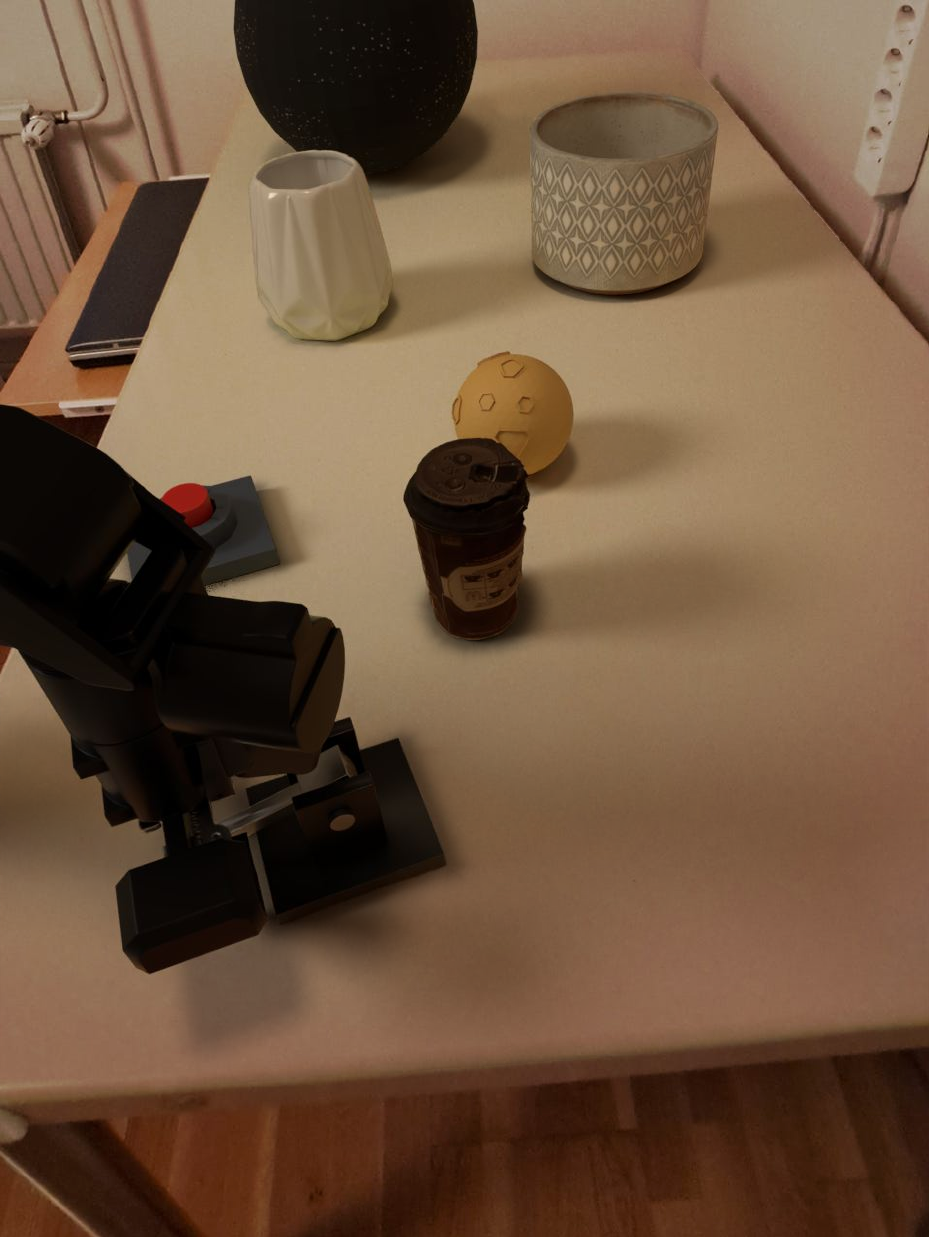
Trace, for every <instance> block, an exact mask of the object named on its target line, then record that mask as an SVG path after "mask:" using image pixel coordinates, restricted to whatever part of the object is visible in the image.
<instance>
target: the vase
mask: <svg viewBox="0 0 929 1237" xmlns="http://www.w3.org/2000/svg"><path fill="white" fill-rule="evenodd" d="M248 185H249V186H248V200H249V217H250V230H251V245H252V257H253V258H252V259H253V270H254V278H255V287H256V292H257V300H258V301H259V303H260V304H261V306H262V307H263V309H264V310H265V311H266V312H267V314H268V315H270V317H271V320H272V321H273V322H274V323H275V324H276V325H277V326H278V327H280V328H281V329H283V330H285V331H287V332H288V333H289V335H291V336H292V337H294V338H296V339H299V340H311V341H328V342H329V341H330V342H331V341H332V342H333V341H335V342H336V341H339V340H342V339H346V338H348V337H351V336H353V335H355V334H359V333H361V332H363V331H365V330H368V329H371V328H372V327H373V326H374V325H375V324H376V323H377V321H378V318H379V316H380V315H381V314H382V313H383V312H384V311H385V310H386V309H387V307H388V306H389V299H390V293H391V290H392V288H393V287H392V286H393V282H394V279H393V278H394V277H393V269H392V264H391V260H390V256H389V252H388V249H387V244H386V241H385V238H384V233H383V230H382V227H381V223H380V220H379V216H378V213H377V209H376V206H375V203H374V200H373V196H372V193H371V190H370V186H369V182H368V180H367V177H366V174H364V171H363V169H362V167H361V166H360V164H359V163H358V162H357V161H356V160H355V159H354V158H352V157H349V156H348V155H347V154H344V153H340V152H337V151H329V150H322V151H318V150H309V151H302V152H297V151H295V152H288V153H286V154H284V155H279V156H276V157H274V158H271V159H269V160H266V161H265V162H264V163H263V164H261V165H260V166H258V167H257V170H255V171H254V173H253V174H252V176H251V178H250V180H249V184H248Z"/></svg>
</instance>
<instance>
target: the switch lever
mask: <svg viewBox="0 0 929 1237" xmlns="http://www.w3.org/2000/svg"><path fill="white" fill-rule="evenodd" d="M356 775H358V774H357V771H356V768H355V765H354V763H353V762H352V761H351V760H350V758H349V757H348V756H347V755H346V754H345V753H344V751H343V750H342V749H341V748H340V747H339V745H335V746H333V747H331V748H330V749H328V750H326V751H324V752H322V753H320V757H319V761H318V765H317V767H316V768H315V769H314V770H313V771H312V772H310V773H307V774H302V775H296V776H297V779H298V782H297V783H295V784H294V785H292V786H290V787H288V788H286V789H284V790H282V791H280V792H278V793H276V794H274V795H272V796H270V797H268V798H266V799H264V800H262V801H261V802H259V803H257V804H255V805H253V806H251V807H250V806H248V807H247V808H245V809H243V810H241V811H239V812H237V813H235V814H233V815H232V816H230V817H228V818H225V819H224V820H222V821H220V822H218V823H217V824H222V825H225V826H226V827H227V828H228V829H229V831H230V833H231V835H232V837H233V836H236V835H238V834H241V833H244V832H247V836H248V837H249V836H251V835H253V834H256V832H257V831H259V830H261V829H263V828H265V827H267V826H269V825H271V824H272V823H274V822H276V821H278V820H280V819H282V818H284V817H286V816H288V815H290V814H292V813H294V812H295V809H294V806H293V802H292V797H294V796H297V795H299V794H302V793H305V792H308V791H311V790H314V789H317V788H320V787H323V786H326V785H329V784H332V783H335V782H338V781H341V780H344V779H347V778H350V777H353V776H356ZM190 811H191V810H190ZM190 811H189V812H187V814H188V819H189V825H190V830H191V836H195V834H194V832H193V831H194V830H196V829H194V828H193V826H192V824H194V823H193V822H192V820H191V818H192V817H193V816H191V814H190Z"/></svg>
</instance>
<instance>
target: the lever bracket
mask: <svg viewBox="0 0 929 1237" xmlns="http://www.w3.org/2000/svg"><path fill="white" fill-rule="evenodd" d="M335 745H339V747H340V748H341V749H342V750H343V751H344V753H345V754H346V755H347V756H348V757H349V758H350V760H351V761H352V762H353V763H354V765H355V768H356V771H357V774H358V775H356V776H353V777H350V778H347V779H344V780H341V781H338V782H335V783H332V784H329V785H326V786H323V787H320V788H317V789H314V790H311V791H308V792H305V793H302V794H299V795H297V796H294V797H292V802H293V806H294V809H295V812H294V813H292V814H290V815H288V816H286V817H284V818H282V819H280V820H278V821H276V822H274V823H272V824H271V825H269V826H267V827H265V828H263V829H261V830H259V831H257V832H255V835H256V839H257V843H258V848H259V851H260V855H261V856H260V857H261V861H262V864H263V869H264V872H265V873H264V874H265V877H266V881H267V885H268V890H269V893H270V898H271V902H272V905H273V910H274V914H275V917H276V919H277V922H278V923H279V926H280V925H283V924H287V923H289V922H291V921H292V922H293V921H295V920H297V919H300V918H302V917H305V916H309V915H310V914H314V913H316V912H319V911H322V910H325V909H327V908H330V907H333V906H335V905H339V904H341V903H344V902H347V901H350V900H352V899H355V898H357V897H360V896H363V895H367V894H369V893H371V892H374V891H377V890H381V889H383V888H385V887H389V886H390V885H393V884H396V883H399V882H402V881H405V880H407V879H410V878H413V877H415V876H418V875H421V874H423V873H424V874H425V873H427V872H429V871H432V870H436V869H437V868H441V867H443V866H446V864H447V862H446V856H445V855H446V854H445V853H444V850H443V846H442V845H441V842H440V839H439V838H438V835H437V832H436V830H435V827H434V825H433V821H432V819H431V817H430V814H429V812H428V809H427V806H426V804H425V802H424V798H423V797H422V794H421V792H420V789H419V786H418V783H417V781H416V779H415V776H414V774H413V772H412V769H411V766H410V764H409V761H408V759H407V755H406V754H405V751H404V748H403V746H402V743H401V740H400V738H399V737H396V738H393V739H390V740H387V741H384V742H381V743H378V744H375V745H372V746H369V747H366V748H363V749H360V745H359V741H358V737H357V733H356V728H355V726H354V723H353V721H352V718H351V716H348V717H345V718H342V719H338V720H335V722H334V725H333V727H332V730H331V732H330V734H329V736H328V737H327V739H326V741H325V743H324V744H323V745H322V749H321V753H322V752H324V751H326V750H328V749H330V748H331V747H333V746H335ZM297 782H298V779H297V776H296V775H294V774H293V773H289V774H283V775H281V776H278V777H276V778H273V779H270V780H266V781H264V782H260V783H258V784H255V785H252V786H248V787H245V788H244V789H245V794H246V797H247V802H248V807H251V806H253V805H255V804H257V803H259V802H261V801H262V800H264V799H266V798H268V797H270V796H272V795H274V794H276V793H278V792H280V791H282V790H284V789H286V788H288V787H290V786H292V785H294V784H295V783H297Z"/></svg>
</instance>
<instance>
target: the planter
mask: <svg viewBox="0 0 929 1237" xmlns="http://www.w3.org/2000/svg"><path fill="white" fill-rule="evenodd" d="M718 132H719V121H718V117H717V116H716V115H715V114H714V113H713V112H712V111H711V110H710V109H708V108H707V107H705V106H704V105H702V104H701V103H698V102H696V101H693V100H690V99H687V98H683V97H680V96H677V95H676V96H675V95H670V94H665V93H655V92H644V91H643V92H641V91H618V92H617V91H616V92H605V93H596V94H591V95H584V96H580V97H576V98H572V99H568V100H565V101H563V102H559V103H557V104H555V105H552V106H550V107H548V108H546V109H545V110H543V111H542V112H540V113H539V114H538V115H537V116H535V118H534V119H533V121H532V122H531V124H530V127H529V143H530V144H529V148H530V149H529V150H530V157H529V158H530V159H529V160H530V230H531V233H530V235H531V236H530V237H531V241H530V242H531V257H532V261H533V263H534V264H535V265H536V267H537V268H538V269H539V270H540V271H541V272H543V273H544V274H545V275H546V276H548V277H550V278H552V279H553V280H555V281H558V282H560V283H562V284H564V285H566V286H568V287H571V288H573V289H575V290H578V291H581V292H586V293H591V294H596V295H597V294H599V295H611V296H612V295H613V296H614V295H615V296H616V295H619V296H620V295H630V294H631V295H632V294H638V293H645V292H647V291H651V290H654V289H657V288H660V287H663V286H664V285H666V284H669V283H671V282H673V281H676V280H678V279H680V278H682V277H683V276H686V275H687V274H688V273H690V272H691V271H692V270H693V269H695V268H696V267H697V265H698V264H699V262H701V258H702V256H703V253H704V245H705V237H706V229H707V222H708V221H707V220H708V214H709V205H710V196H711V190H712V180H713V173H714V165H715V156H716V150H717V149H716V147H717V140H718Z"/></svg>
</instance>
